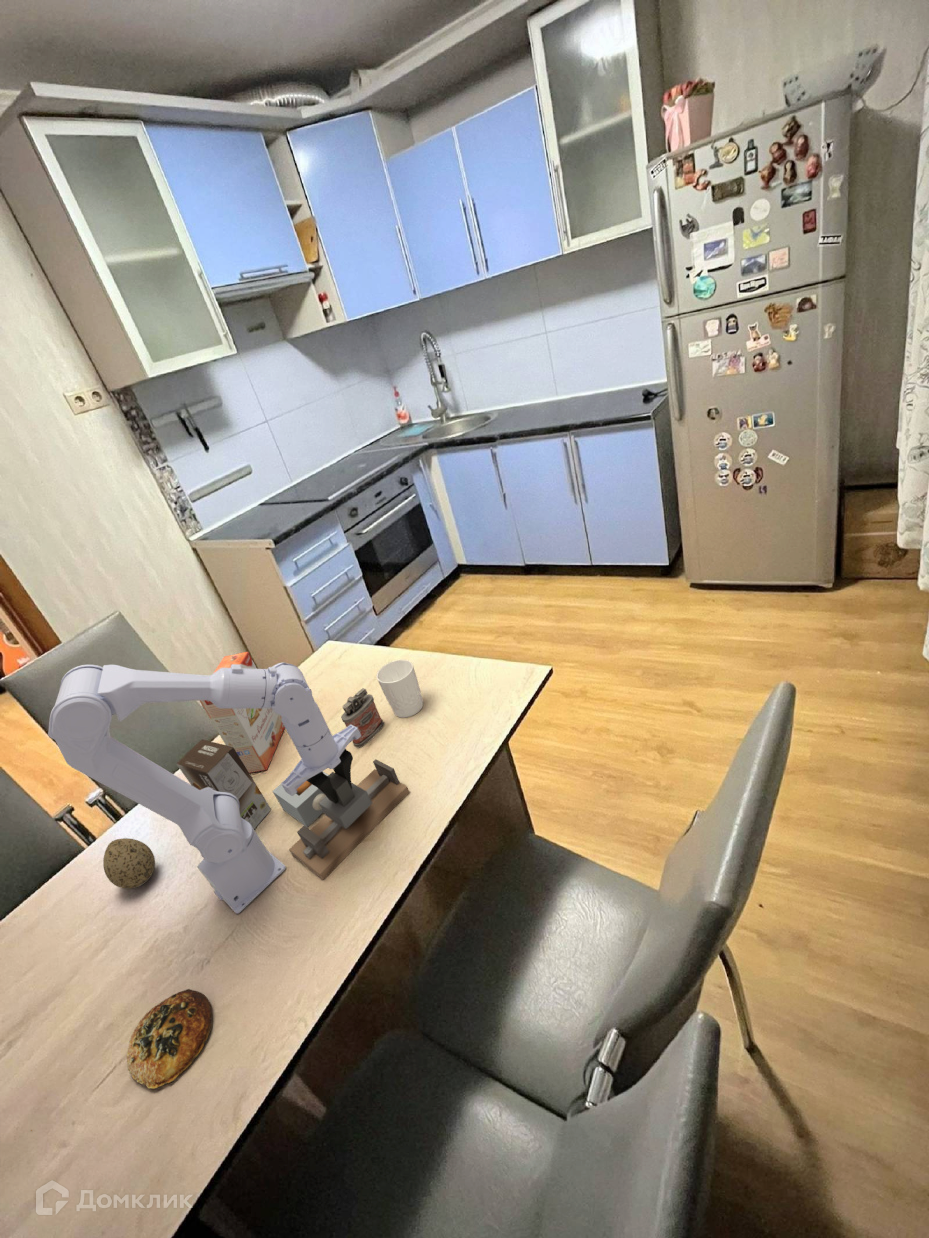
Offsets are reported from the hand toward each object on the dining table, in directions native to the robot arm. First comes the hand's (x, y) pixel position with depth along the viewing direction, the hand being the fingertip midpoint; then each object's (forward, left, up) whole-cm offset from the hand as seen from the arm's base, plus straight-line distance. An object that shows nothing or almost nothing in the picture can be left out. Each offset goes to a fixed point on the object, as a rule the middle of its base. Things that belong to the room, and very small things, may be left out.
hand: (340, 793), depth 96 cm
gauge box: (-1, +11, -7) cm, 13 cm away
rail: (0, 0, -7) cm, 7 cm away
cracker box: (+3, +34, -7) cm, 35 cm away
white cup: (+27, +13, -7) cm, 30 cm away
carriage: (0, 0, -4) cm, 4 cm away
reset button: (-1, +11, -4) cm, 12 cm away
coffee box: (-10, +21, -7) cm, 24 cm away
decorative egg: (-28, +26, -7) cm, 39 cm away
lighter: (+17, +15, -7) cm, 23 cm away
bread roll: (-37, -5, -7) cm, 38 cm away
